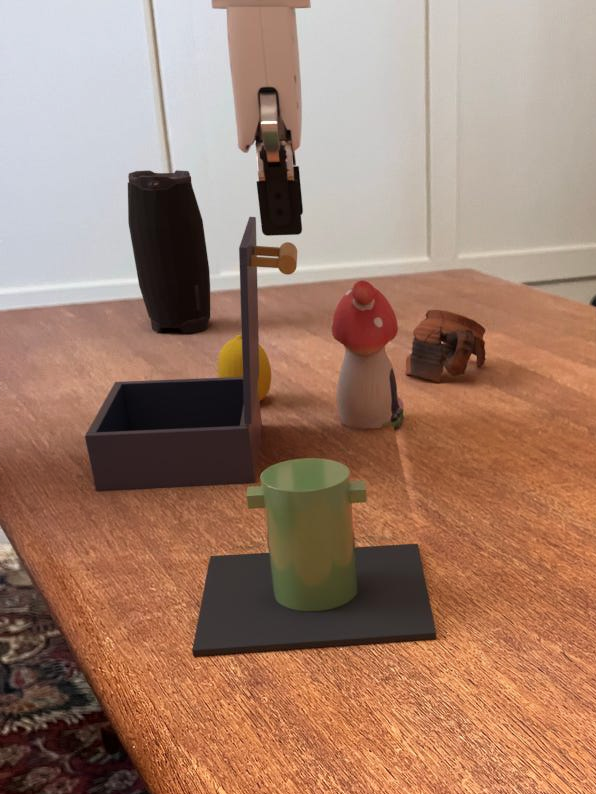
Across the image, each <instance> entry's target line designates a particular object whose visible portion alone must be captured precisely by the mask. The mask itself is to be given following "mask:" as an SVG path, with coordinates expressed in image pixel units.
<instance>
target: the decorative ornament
mask: <svg viewBox="0 0 596 794" xmlns="http://www.w3.org/2000/svg"><path fill="white" fill-rule="evenodd" d="M330 329H331V336H332V337H333V340H336V341H337V342H338V343H340V344H342V345H343V347H344V349H345V351H344V356H343V359H342V363H341V366H340V371H339V375H338V378H337V379H338V380H337V386H336V407H337V410H338V415H339V418H340V421H341V423H342V424H343V425H345V426H346V427H350V428H354V429H362V430H363V429H364V430H365V429H366V430H367V429H368V430H369V429H379V428H385V427H386V428H387V427H390V426H392V427H393V430H396V429H399V428H400V427H401V425H402V422H403V420H404V411H405V410H404V408H405V407H404V402H403V400H402V399H401V398H400V397H399V396H398V385H397V384H398V383H397V378H396V375H395V371H394V366H393V364H392V362H391V360H390V358H389V356H388V354H387V352H386V346H387V345H388V344H389V343H390V342H391V341H393V340H394V339H395V338H396V337H397V336H398V335H397V334H398V331H399V323H398V320H397V316H396V314H395V311H394V308H393V307H392V305H391V304H390V302H389V301H388V299H387V297H386V296H385V294H384V293H382V292H381V291H380V290H379V289H377V288H376V287H374V285H372V283H370V282H369V281H366V280H358V281H357V282H355V283H354V284H353V285H352V287H351V288H350V289H348V290H347V291H346V292H345V294H343V296H342V297H341V299H340V300H339V302H338V304H337V307H336V308H335V310H334V312H333V317H332V319H331V326H330Z"/></svg>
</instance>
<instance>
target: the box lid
mask: <svg viewBox="0 0 596 794" xmlns="http://www.w3.org/2000/svg"><path fill="white" fill-rule="evenodd" d="M238 256H239V257H238V259H239V288H240V290H239V291H240V293H239V294H240V323H241V334H242V360H243V393H244V423H245V424H252V417H253V411H254V404H255V397H256V391H257V384H258V378H259V345H260V342H259V341H260V340H259V339H260V337H259V296H258V295H259V294H258V268H271V269H278V270H279V272H280V273H281V274H283V275H287V276H289V275H292V274H293V273H295V272H296V270H297V267H298V266H297V265H298V248H297V247H296V245H295V244H294V243H292V242H288V241H287V242H284V243H282V244H281V245H280V246H266V245H265V246H264V245H257V217H256V216H249V217H248V220H247V222H246V225H245V229H244V232H243V235H242V237H241V241H240V244H239V247H238Z"/></svg>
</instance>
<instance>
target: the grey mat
mask: <svg viewBox="0 0 596 794" xmlns="http://www.w3.org/2000/svg"><path fill="white" fill-rule="evenodd" d="M355 552H356V567H357V581H358V591H357V594H356V596H355V597H354V598H353V599H352V600H351V601H349V602H348V603H346V604H344V605H342V606H339V607H336V608H333V609H329V610H323V611H311V612H310V611H298V610H293V609H289V608H286V607H284V606H282V605H281V604H279V603H278V602H277V601H276V599H275V597H274V592H273V583H272V575H271V566H270V558H269V552H255V553H240V554H239V553H238V554H237V553H236V554H222V555H221V554H220V555H210V556H209V560H208V567H207V572H206V577H205V582H204V587H203V592H202V597H201V602H200V608H199V613H198V617H197V618H198V619H197V623H196V628H195V633H194V639H193V643H192V648H191V649H192V650H191V651H192V656H193V657H203V656H217V655H229V654H245V653H258V652H271V651H284V650H285V651H286V650H298V649H300V650H301V649H314V648H325V647H340V646H356V645H366V644H367V645H369V644H382V643H396V642H409V641H422V640H423V641H424V640H436V639H437V630H436V624H435V620H434V615H433V611H432V605H431V600H430V596H429V592H428V586H427V583H426V582H427V581H426V577H425V572H424V568H423V563H422V558H421V553H420V548H419V545H418V543H404V544H401V543H400V544H386V545H371V546H355Z"/></svg>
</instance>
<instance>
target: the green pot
mask: <svg viewBox="0 0 596 794" xmlns="http://www.w3.org/2000/svg"><path fill="white" fill-rule="evenodd" d="M259 480H260V485H256V486H247V488H246V495H245V499H246V506H247V509H249V510H250V509H251V510H252V509H263V515H264V522H265V531H266V539H267V548H268V553H269V558H270V566H271V575H272V583H273V592H274V597H275V599H276V601H277V602H278V603H279V604H281V605H282V606H284V607H286V608H289V609H293V610H298V611H310V612H311V611H323V610H329V609H333V608H336V607H339V606H342V605H344V604H346V603H348V602H349V601H351V600H352V599H353V598H354V597H355V596H356V594H357V591H358V581H357V567H356V552H355V547H356V540H355V526H354V525H355V524H354V511H353V509H354V508H353V504H358V503H360V504H361V503H367V502H368V498H367V496H368V495H367V486H366V485H367V484H366V481H365V480H351V471H350V469H349V467H348V466H346V465H345V464H343V463H342V462H340V461H336V460H333V459H329V458H320V457H319V458H318V457H304V458H295V459H289V460H285V461H280V462H277V463H275V464H272V465H270V466H268V467H267V468H265V469H264V470H262V471H261V474H260V476H259Z"/></svg>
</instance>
